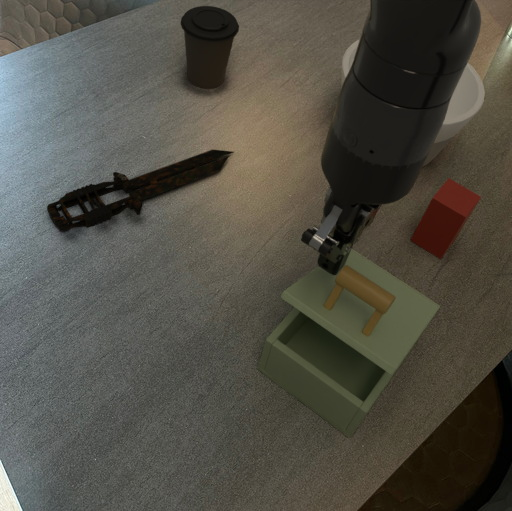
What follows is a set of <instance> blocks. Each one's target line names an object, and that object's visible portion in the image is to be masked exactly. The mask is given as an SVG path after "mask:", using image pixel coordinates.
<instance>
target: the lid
mask: <svg viewBox="0 0 512 511" xmlns="http://www.w3.org/2000/svg"><path fill="white" fill-rule="evenodd" d="M280 299H282V300H284V301H285V302H286V303H287V304H289V305H290V306H292V307H293V308H294V307H295V308H296V309H298V310H299V311H301V312H302V313H303V314H305V315H306V316H308V317H309V318H311V319H312V320H314V321H315V322H316V323H318V324H319V325H321V326H322V327H324V328H325V329H326V330H328V331H329V332H331V333H332V334H334V335H335V336H336V337H338V338H339V339H341V340H342V341H344V342H345V343H346V344H348V345H349V346H351V347H352V348H354V349H355V350H356V351H358V352H359V353H361V354H362V355H364V356H365V357H366V358H368V359H369V360H371V361H372V362H374V363H375V364H377V365H378V366H379V367H381V368H382V369H384V370H385V371H387V372H388V373H389V374H391V375H393V374H394V372H395V371H396V369H397V368H398V367H399V365H400V364H401V362H402V361H403V359H404V358H405V357H406V355H407V354H408V352H409V351H410V349H411V348H412V347H413V348H414V346H415V345H416V344H415V342H416V341H417V339H418V338H419V337H420V338H421V336H422V335H423V333H424V332H425V330H426V329H427V327H428V326H429V324H430V323H431V322H432V320H433V318H434V317H435V315H436V314H437V313H438V311H439V310H440V308H441V305H440V304H438V303H436V302H435V301H433V300H431V298H428V297H427V296H425V295H424V294H423V293H421V292H419V291H418V290H416V289H415V288H413V287H412V286H410V285H409V284H407V283H405V282H404V281H402V280H401V279H399V278H398V277H396V276H395V275H394V274H392V273H390V272H388V271H387V270H386V269H384V268H382V267H381V266H380V265H377V264H376V263H375V262H373V261H371V260H370V259H369V258H367V257H365V256H364V255H362V254H360V253H359V252H358V251H356V250H354V249H353V248H352V249H351V251H350V254H349V256H348V258H347V261H346V263H345V265H344V266H343V268H342V269H341V270H340V271H339V272H338V273H337V275H332V274H330V273H328V272H327V271H325V270H324V269H322V268H321V267H319V266H318V265H317V266H316V267H315V268H314V269H312V270H311V271H309V272H308V273H307V274H305V275H304V276H302V277H301V278H300V279H298V280H297V281H296V282H294V283H292V284H291V285H289V287H287V288H285V289H284V290H283V291H282V293H281V295H280ZM429 322H430V323H429ZM427 325H428V326H427ZM425 328H426V329H425ZM424 329H425V330H424ZM423 331H424V332H423ZM422 332H423V333H422ZM421 334H422V335H421ZM420 335H421V336H420ZM420 338H419V339H420ZM419 339H418V340H419ZM417 342H418V341H417ZM417 342H416V343H417ZM414 344H415V345H414ZM413 345H414V346H413ZM413 348H412V349H413ZM412 349H411V350H412ZM410 352H411V351H410ZM410 352H409V353H410ZM408 355H409V354H408ZM408 355H407V356H408ZM406 358H407V357H406ZM406 358H405V359H406ZM405 359H404V360H405ZM403 362H404V361H403ZM403 362H402V363H403ZM401 365H402V364H401ZM401 365H400V366H401ZM399 368H400V367H399ZM399 368H398V369H399ZM396 372H397V371H396ZM394 375H395V374H394ZM394 375H393V376H394Z"/></svg>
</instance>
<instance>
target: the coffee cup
mask: <svg viewBox="0 0 512 511" xmlns="http://www.w3.org/2000/svg"><path fill="white" fill-rule="evenodd" d="M180 26H181V29H182V30H183V34H184V47H185V58H186V59H185V60H186V72H187V78H188V81H189V82H190V84H192V85H193V86H195V87H196V88H199V89H205V90H209V89H210V90H211V89H215V88H218V87H220V86H221V85H222V84H223V83H224V80H225V76H226V71H227V68H228V63H229V60H230V56H231V52H232V48H233V43H234V39H235V37H236V35H237V34H238V33H239V31H240V24H239V22H238V20H237V18H236V17H235V16H234V15H233V14H232V13H231V12H229V11H228V10H225V9H224V8H221V7H218V6H213V5H212V6H211V5H199V6H194V7H192V8H189V9H188V10H187V11H185V13H184V14H183V16H182V17H181V18H180Z"/></svg>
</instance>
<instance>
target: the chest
mask: <svg viewBox="0 0 512 511" xmlns="http://www.w3.org/2000/svg"><path fill="white" fill-rule="evenodd" d="M430 323H431V321H430V322H429V324H430ZM429 324H428V325H427V327H428V326H429ZM427 327H426V328H425V329H424V331H423V332H422V334H421V335H420V337H419V338H418V339H417V341H416V342H415V344H414V345H413V347H412V348H411V349H410V351H409V352H408V354H407V355H406V357H405V358H404V359H403V361H402V362H401V364H400V365H399V367H398V368H397V369H396V371H395V372H394V374H393V375H391V374H389V373H388V372H387V371H385V370H384V369H382V368H381V367H379V366H378V365H377V364H375V363H374V362H372V361H371V360H369V359H368V358H366V357H365V356H364V355H362V354H361V353H359V352H358V351H356V350H355V349H354V348H352V347H351V346H349V345H348V344H346V343H345V342H344V341H342V340H341V339H339V338H338V337H336V336H335V335H334V334H332V333H331V332H329V331H328V330H326V329H325V328H324V327H322V326H321V325H319V324H318V323H316V322H315V321H314V320H312V319H311V318H309V317H308V316H306V315H305V314H303V313H302V312H301V311H299V310H298V309H296V308H295V307H293V308H292V309H291V310H290V312H289V313H288V314H287V315H286V316H285V317H284V319H282V321H280V322H279V324H278V325H277V326H276V327H275V328H274V330H273V331H272V332H271V333H270V334H269V335H268V336H267V337H266V339H265V341H264V345H263V347H262V352H261V354H260V359H259V362H258V366H257V370H258V371H259V372H260V373H262V374H263V375H264V376H265V377H267V378H268V379H270V380H271V381H272V382H274V384H276V385H277V386H279V387H280V388H282V389H283V390H284V391H286V392H287V393H289V394H290V395H291V396H293V397H294V398H295V399H296V400H298V401H299V402H301V403H302V404H303V405H304V406H305V407H307V408H309V409H310V410H311V411H312V412H314V413H315V414H316V415H318V416H319V417H320V418H322V419H323V420H325V421H326V422H327V423H328V424H329V425H331V426H333V427H334V428H335V429H336V430H338V431H340V432H341V433H342V435H343V434H344V435H345V436H346V437H347V438H348V439H351V438H352V436H353V435H354V434H355V432H356V431H357V429H358V428H359V426H360V425H361V424H362V422H363V421H364V419H365V417H366V416H367V415H368V413H369V412H370V410H371V409H372V408H373V406H374V405H375V403H376V402H377V400H378V399H379V397H380V396H381V395H382V393H383V392H384V390H385V389H386V387H387V386H388V385H389V383H390V381H391V380H392V378H393V377H394V376H395V374H396V372H397V371H398V370H399V369H400V367H401V365H402V364H403V362H404V361H405V360H406V358H407V356H408V355H409V354H410V352H411V351H412V349H413V348H414V346H415V345H416V343H417V342H418V341H419V339H420V338H421V336H422V335H423V333H424V332H425V331H426V329H427Z"/></svg>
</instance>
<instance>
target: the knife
mask: <svg viewBox="0 0 512 511" xmlns="http://www.w3.org/2000/svg"><path fill="white" fill-rule="evenodd" d="M233 153H235V151H231V150H221V149H209V150H207V151H204V152H201V153H199V154H195V155H193V156H190V157H188V158H185V159H181V160H178V161H176V162H173V163H171V164H167V165H165V166H161V167H159V168H157V169H154V170H152V171H149V172H146V173H143V174H140V175H137V176H135V177H132V178H130V179H129V178H128V177H127V174H124V173H121V172H117V171H114V172H112V176H113V180H111V181H102V182H99V183H96V184H94V183H93V184H92V183H90V184H89V185H88V184H86V185H85V186H81V187H78V188H76V189H73V190H71V191H69V192H66V193H65V194H64V195H63V196H62V197H60V198H59V199H58V200H56V201H53V202H51V203H48V204H47V206H46V211H47V213H48V216H49V218H50V220H51V221H52V223H53V225H54V226H55V227H56V228H57V229H58V230H59V231H60V232H65V231H69V230H70V229H73V228H79V227H86V228H90V227H94V226H95V225H96V226H97V225H99V224H102V223H103V222H107V221H108V220H109V221H110V220H112V219H111V218H112V217H113V216H116V215H118V214H120V213H122V212H123V211H124V210H125V209H126V208H129V209H130V210H132V209H133V211H134V212H135V214H136V215H138V216H139V215H140V214H141V212H142V209H143V200H146V199H149V198H151V197H154V196H156V195H157V196H158V195H159V194H162V193H165V192H167V191H170V190H173V189H175V188H178V187H180V186H183V185H186V184H188V183H191V182H194V181H196V180H199V179H202V178H204V177H207V176H209V175H211V174H214V173H217V172H220V171H221V170H222V168H223V167H224V165H225V164H226V162H227V161H228V159H229V158H230V155H231V154H233ZM211 161H212V162H211ZM111 186H112V187H111ZM138 188H139V189H138ZM121 189H122V190H124V191H125V193H128V196H127V197H124V198H121V199H118V200H116V201H113V202H110V203H108V204H105V202H103V201H102V199H101V196H103V195H106V194H110V193H112V192H115V191H118V190H121ZM85 202H88V204H89V206H90V207H91V209H90V210H89V209H88V207H87V206H86V205H85ZM58 205H59V206H58ZM77 205H78V207H79V208H80V210H81V211H82V213H81V214H78V215H75V216H73V217H72V215H71V213H70V212H69V211H68V208H71V207H73V206H77ZM95 206H96V207H95ZM60 211H61V212H62V214H63V215H61V213H60ZM73 222H74V223H73Z"/></svg>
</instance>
